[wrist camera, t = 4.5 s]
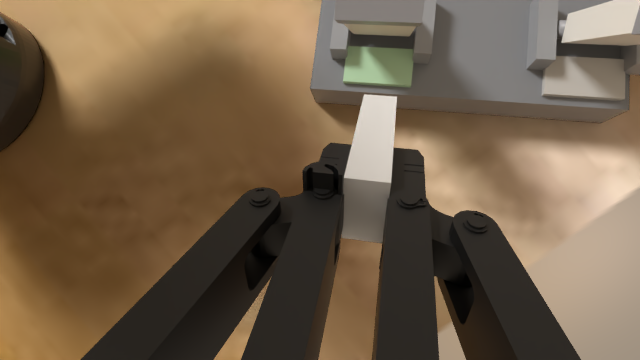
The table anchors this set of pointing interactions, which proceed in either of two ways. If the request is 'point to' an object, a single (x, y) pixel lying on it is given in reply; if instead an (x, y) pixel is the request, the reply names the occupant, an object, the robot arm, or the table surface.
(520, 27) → the console
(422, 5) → the lever
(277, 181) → the table surface
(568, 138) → the table surface
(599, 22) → the lever
